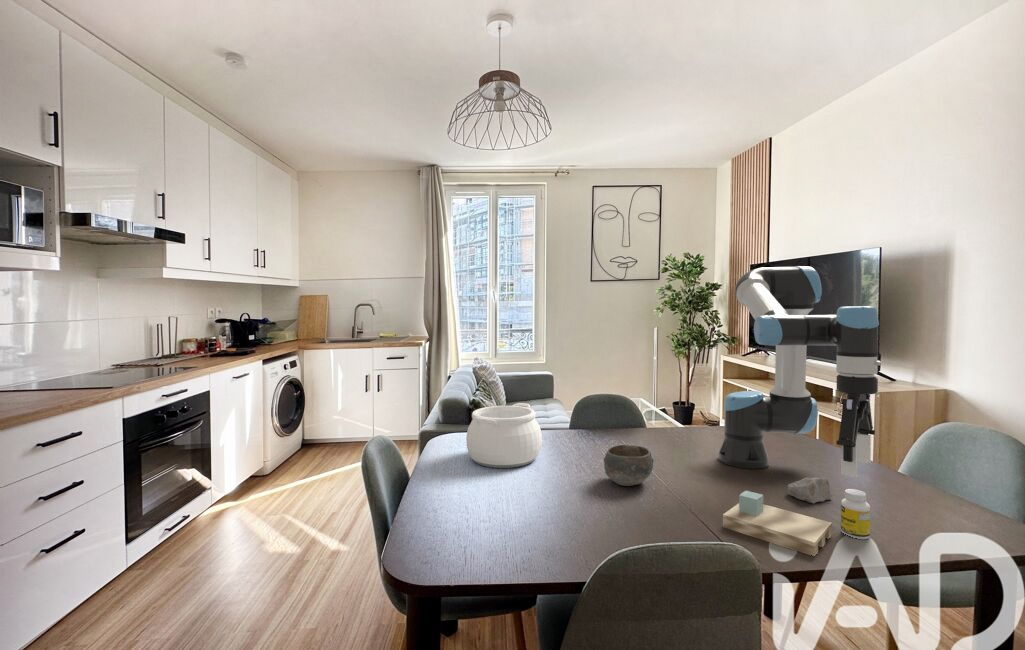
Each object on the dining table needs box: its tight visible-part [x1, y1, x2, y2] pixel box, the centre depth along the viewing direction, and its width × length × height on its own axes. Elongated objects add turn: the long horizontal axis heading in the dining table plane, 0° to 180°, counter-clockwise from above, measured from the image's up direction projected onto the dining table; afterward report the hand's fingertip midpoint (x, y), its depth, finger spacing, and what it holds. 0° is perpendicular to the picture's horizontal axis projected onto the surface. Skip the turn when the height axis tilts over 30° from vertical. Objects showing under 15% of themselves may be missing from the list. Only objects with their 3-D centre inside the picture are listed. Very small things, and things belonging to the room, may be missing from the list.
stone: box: [787, 477, 833, 505], centre depth 129 cm, size 10×8×6 cm
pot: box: [466, 402, 543, 469], centre depth 166 cm, size 29×26×17 cm
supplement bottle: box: [840, 488, 871, 540], centre depth 108 cm, size 5×5×10 cm
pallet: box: [722, 502, 833, 557], centre depth 110 cm, size 19×13×3 cm
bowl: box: [603, 444, 655, 487], centre depth 141 cm, size 14×15×10 cm
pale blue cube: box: [738, 490, 764, 516], centre depth 114 cm, size 4×4×4 cm
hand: (856, 468), depth 107 cm, fingers open, 13 cm apart
